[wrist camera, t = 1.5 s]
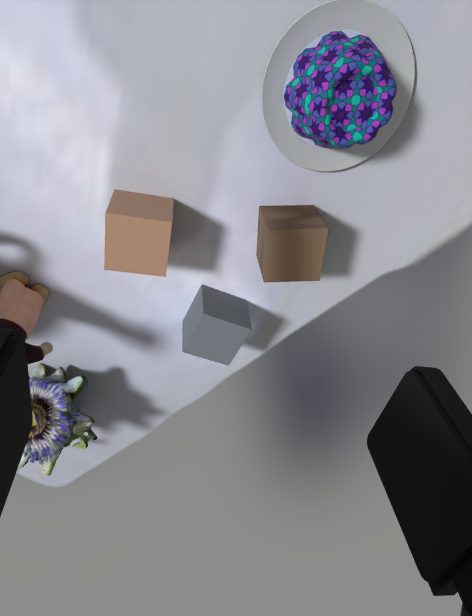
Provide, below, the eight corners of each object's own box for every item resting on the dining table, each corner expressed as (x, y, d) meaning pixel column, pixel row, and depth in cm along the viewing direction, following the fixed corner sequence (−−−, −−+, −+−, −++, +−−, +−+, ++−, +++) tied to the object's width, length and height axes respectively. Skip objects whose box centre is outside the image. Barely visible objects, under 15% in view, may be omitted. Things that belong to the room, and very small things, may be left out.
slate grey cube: (245, 299, 44) (251, 329, 40) (225, 333, 46) (228, 365, 42) (201, 283, 42) (203, 313, 38) (182, 320, 44) (182, 351, 40)
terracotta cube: (173, 198, 36) (172, 222, 32) (167, 248, 39) (165, 276, 35) (114, 189, 36) (105, 212, 31) (112, 241, 38) (104, 269, 34)
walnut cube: (313, 204, 38) (328, 228, 34) (306, 253, 41) (319, 280, 37) (259, 205, 38) (267, 229, 34) (256, 254, 41) (263, 282, 37)
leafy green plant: (54, 337, 51) (73, 361, 41) (106, 400, 55) (135, 436, 45) (-34, 400, 47) (-38, 443, 37) (30, 462, 51) (42, 516, 41)
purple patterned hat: (259, 1, 29) (271, 1, 25) (426, -7, 30) (466, -8, 25) (259, 173, 36) (269, 196, 32) (395, 164, 37) (422, 184, 33)
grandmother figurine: (-18, 286, 40) (-89, 384, 29) (-3, 257, 38) (-72, 350, 28) (60, 322, 43) (20, 421, 33) (77, 296, 41) (41, 392, 31)
